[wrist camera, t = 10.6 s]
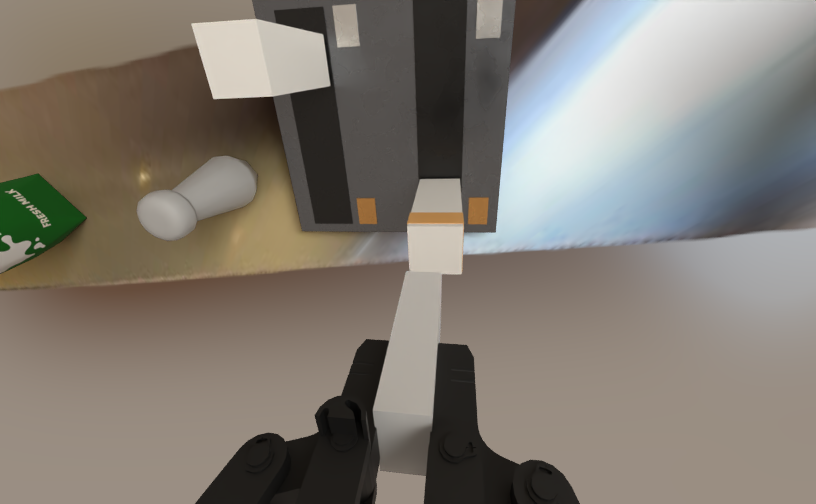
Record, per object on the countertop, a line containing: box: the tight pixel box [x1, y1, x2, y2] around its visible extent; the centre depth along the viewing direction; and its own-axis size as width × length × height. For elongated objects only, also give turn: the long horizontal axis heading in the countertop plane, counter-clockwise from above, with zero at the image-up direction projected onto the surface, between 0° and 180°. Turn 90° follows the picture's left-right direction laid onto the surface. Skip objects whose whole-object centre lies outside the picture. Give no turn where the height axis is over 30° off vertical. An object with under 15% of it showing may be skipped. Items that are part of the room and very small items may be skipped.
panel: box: [252, 0, 516, 232], centre depth 34 cm, size 22×22×2 cm
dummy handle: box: [191, 19, 330, 99], centre depth 25 cm, size 4×4×12 cm
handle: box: [407, 179, 464, 274], centre depth 30 cm, size 4×4×12 cm
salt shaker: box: [137, 156, 258, 241], centre depth 33 cm, size 6×6×13 cm
